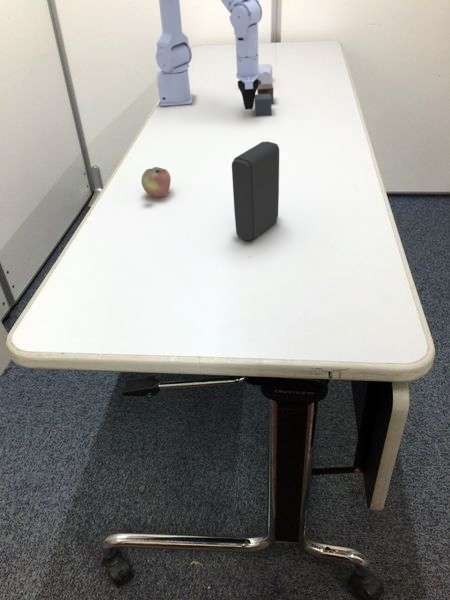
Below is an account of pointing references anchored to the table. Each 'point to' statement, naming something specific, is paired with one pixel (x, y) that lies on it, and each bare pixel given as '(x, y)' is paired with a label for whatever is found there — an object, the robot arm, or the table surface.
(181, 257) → the table surface
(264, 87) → the walnut block
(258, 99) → the slate block
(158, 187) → the apple
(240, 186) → the dark grey rounded box
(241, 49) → the robot arm
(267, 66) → the charger
